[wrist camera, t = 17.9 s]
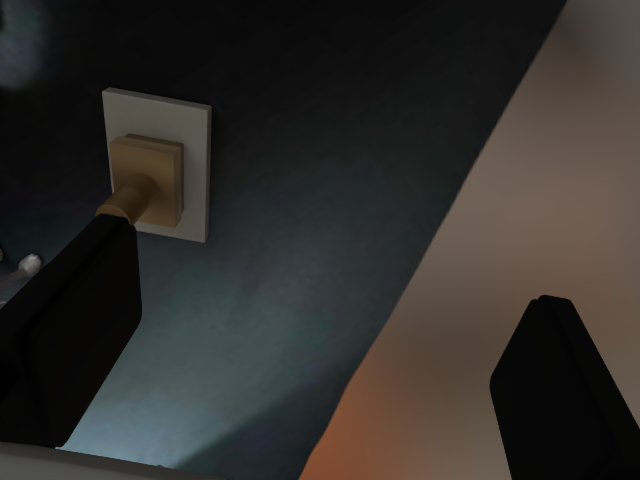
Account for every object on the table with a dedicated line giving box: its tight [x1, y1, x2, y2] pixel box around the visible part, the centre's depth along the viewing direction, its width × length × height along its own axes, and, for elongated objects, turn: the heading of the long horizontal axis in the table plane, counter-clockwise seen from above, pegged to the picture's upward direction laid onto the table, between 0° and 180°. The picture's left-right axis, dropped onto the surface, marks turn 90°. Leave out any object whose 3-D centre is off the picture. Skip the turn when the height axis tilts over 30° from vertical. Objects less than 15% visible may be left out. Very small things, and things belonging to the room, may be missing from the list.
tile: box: [102, 87, 212, 243], centre depth 39 cm, size 12×8×1 cm, turn 171°
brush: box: [96, 133, 184, 228], centre depth 35 cm, size 6×5×8 cm
